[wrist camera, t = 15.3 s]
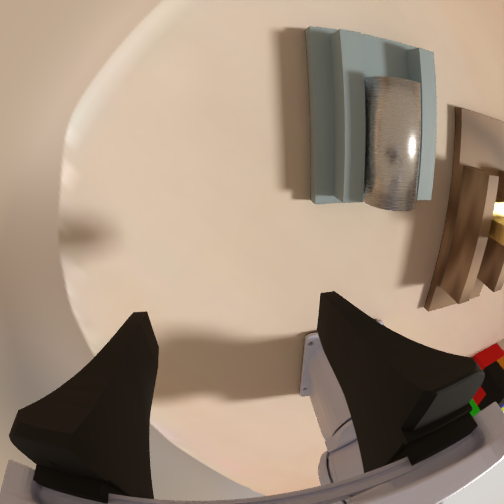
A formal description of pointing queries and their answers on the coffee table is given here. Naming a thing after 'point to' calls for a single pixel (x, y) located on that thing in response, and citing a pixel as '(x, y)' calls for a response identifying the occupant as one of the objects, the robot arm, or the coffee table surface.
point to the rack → (359, 108)
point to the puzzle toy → (490, 378)
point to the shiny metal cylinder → (392, 142)
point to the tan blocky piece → (498, 221)
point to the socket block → (471, 214)
